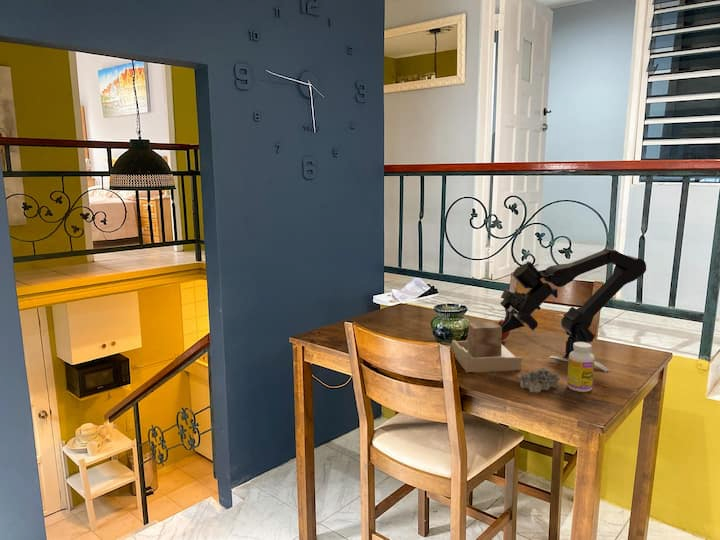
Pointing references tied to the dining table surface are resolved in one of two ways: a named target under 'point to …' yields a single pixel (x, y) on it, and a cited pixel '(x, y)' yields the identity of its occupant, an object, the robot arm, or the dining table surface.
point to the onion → (506, 334)
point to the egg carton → (538, 380)
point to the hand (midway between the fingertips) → (499, 332)
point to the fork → (594, 362)
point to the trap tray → (485, 359)
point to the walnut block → (484, 339)
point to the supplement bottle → (581, 368)
